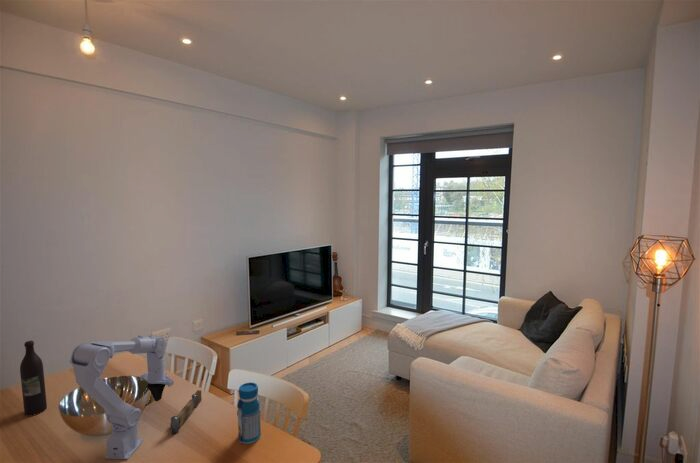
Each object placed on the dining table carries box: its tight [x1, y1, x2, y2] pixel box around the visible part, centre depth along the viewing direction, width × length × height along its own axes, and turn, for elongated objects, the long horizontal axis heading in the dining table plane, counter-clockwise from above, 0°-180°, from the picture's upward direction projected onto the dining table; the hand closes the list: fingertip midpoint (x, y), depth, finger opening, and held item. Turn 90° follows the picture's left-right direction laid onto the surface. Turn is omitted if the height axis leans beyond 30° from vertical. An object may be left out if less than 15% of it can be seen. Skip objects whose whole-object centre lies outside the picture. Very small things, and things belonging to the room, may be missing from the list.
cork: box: [137, 378, 154, 405], centre depth 158 cm, size 6×6×11 cm
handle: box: [176, 398, 196, 429], centre depth 146 cm, size 13×2×5 cm, turn 177°
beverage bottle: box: [236, 382, 262, 445], centre depth 135 cm, size 8×8×20 cm
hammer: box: [169, 389, 202, 436], centre depth 148 cm, size 22×4×6 cm, turn 178°
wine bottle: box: [19, 340, 48, 416], centre depth 149 cm, size 7×7×30 cm
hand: (157, 399), depth 143 cm, fingers closed
